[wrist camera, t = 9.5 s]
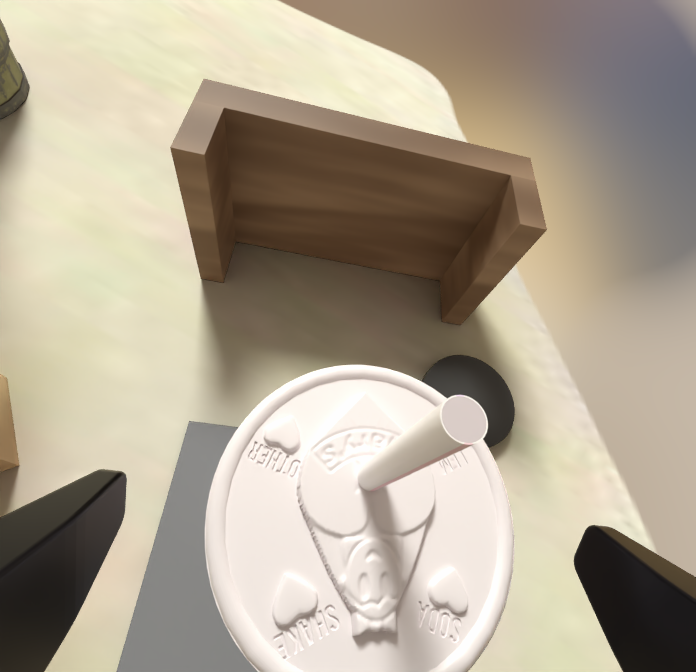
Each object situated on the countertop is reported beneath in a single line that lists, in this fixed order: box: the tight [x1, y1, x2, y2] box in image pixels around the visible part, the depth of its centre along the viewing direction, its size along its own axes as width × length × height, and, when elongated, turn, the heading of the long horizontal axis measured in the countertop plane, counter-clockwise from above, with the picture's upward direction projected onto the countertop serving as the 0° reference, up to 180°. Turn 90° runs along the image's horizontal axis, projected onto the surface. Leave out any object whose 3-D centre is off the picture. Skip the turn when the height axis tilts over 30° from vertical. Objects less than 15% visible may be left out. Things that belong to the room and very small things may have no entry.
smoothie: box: [205, 365, 514, 672], centre depth 10 cm, size 6×6×14 cm
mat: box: [117, 421, 258, 672], centre depth 16 cm, size 9×12×1 cm
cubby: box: [170, 79, 547, 325], centre depth 19 cm, size 5×15×8 cm, turn 86°
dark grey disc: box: [422, 355, 514, 448], centre depth 20 cm, size 5×5×1 cm
